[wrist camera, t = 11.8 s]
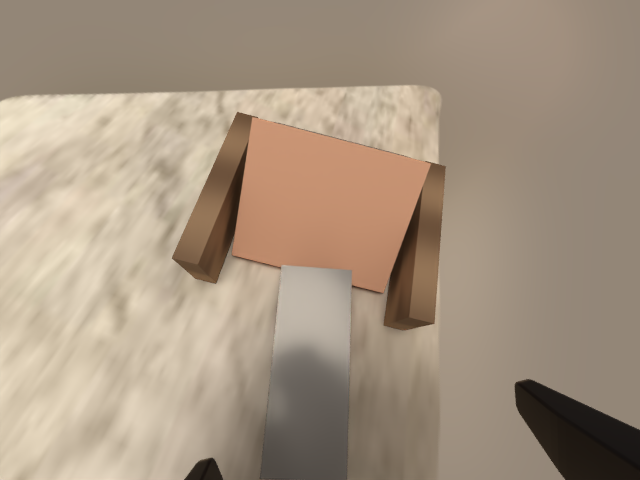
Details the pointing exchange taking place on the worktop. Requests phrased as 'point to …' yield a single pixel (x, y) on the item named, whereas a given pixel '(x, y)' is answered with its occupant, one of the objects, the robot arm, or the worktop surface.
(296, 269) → the gray rectangular block
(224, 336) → the worktop surface
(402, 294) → the brown bracket
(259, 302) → the worktop surface
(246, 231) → the trapdoor
